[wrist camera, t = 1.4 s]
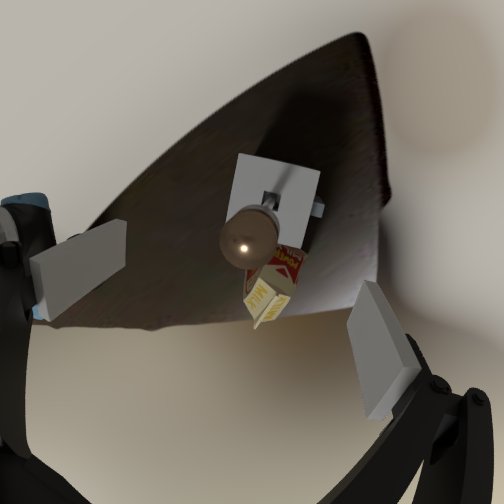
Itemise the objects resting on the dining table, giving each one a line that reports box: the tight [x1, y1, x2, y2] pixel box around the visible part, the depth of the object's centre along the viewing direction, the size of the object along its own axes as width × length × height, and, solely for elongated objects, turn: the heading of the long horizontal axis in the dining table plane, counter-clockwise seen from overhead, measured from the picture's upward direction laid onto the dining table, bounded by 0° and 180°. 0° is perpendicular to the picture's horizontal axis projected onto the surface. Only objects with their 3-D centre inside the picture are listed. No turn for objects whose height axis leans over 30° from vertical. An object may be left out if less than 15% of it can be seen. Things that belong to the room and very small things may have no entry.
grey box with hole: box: [226, 153, 325, 249], centre depth 44 cm, size 13×11×14 cm
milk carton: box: [243, 243, 308, 329], centre depth 45 cm, size 9×9×20 cm
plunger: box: [219, 191, 281, 270], centre depth 30 cm, size 8×8×24 cm
